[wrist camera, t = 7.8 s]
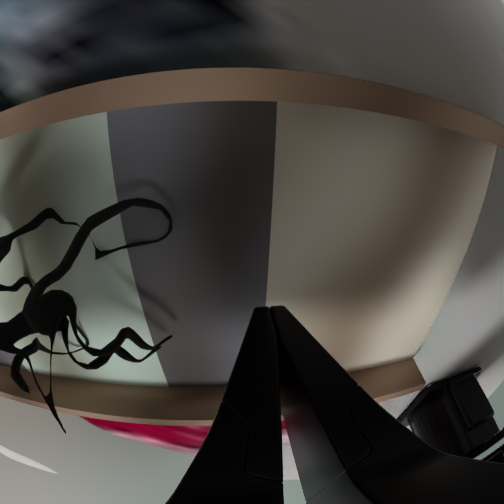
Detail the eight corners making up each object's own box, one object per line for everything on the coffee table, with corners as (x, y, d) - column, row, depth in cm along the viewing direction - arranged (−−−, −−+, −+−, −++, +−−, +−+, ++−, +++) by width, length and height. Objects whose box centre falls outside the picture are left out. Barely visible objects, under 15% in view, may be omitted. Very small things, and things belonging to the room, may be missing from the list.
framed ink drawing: (494, 125, 7) (534, 142, 5) (406, 360, 13) (420, 389, 12) (-98, 170, 4) (-124, 189, 3) (-9, 363, 11) (-20, 388, 9)
